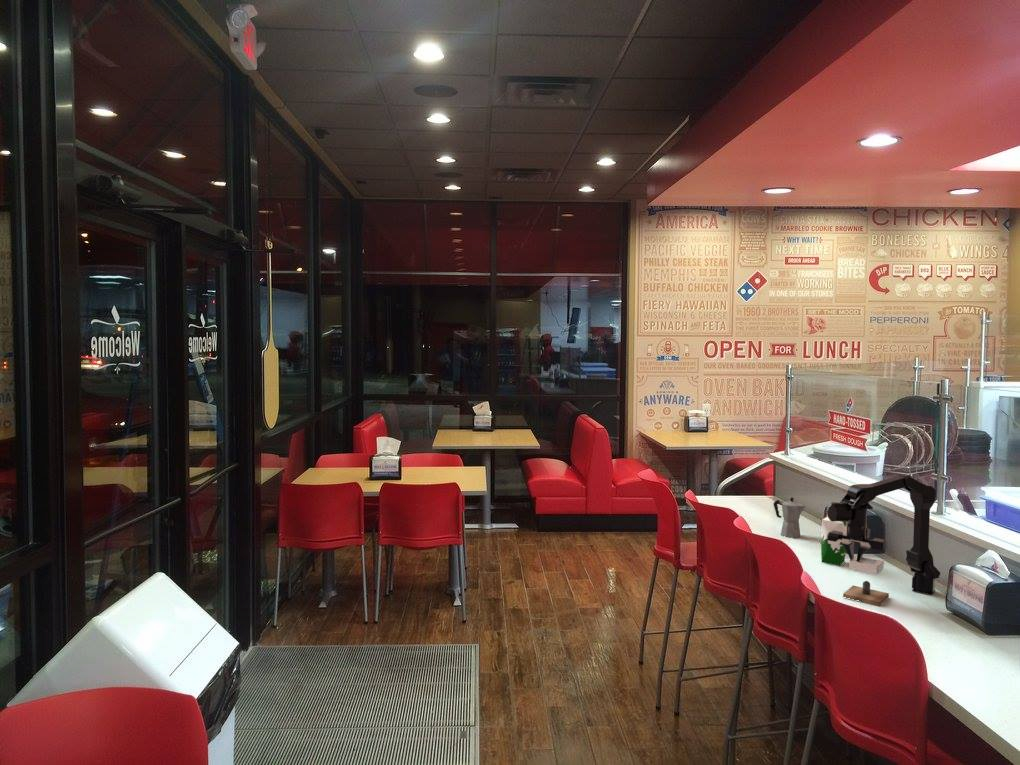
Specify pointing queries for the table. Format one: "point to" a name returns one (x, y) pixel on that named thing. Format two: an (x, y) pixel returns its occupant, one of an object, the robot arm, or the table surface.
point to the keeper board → (866, 594)
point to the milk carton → (832, 542)
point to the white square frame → (866, 565)
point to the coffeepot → (790, 517)
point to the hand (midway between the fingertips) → (855, 563)
